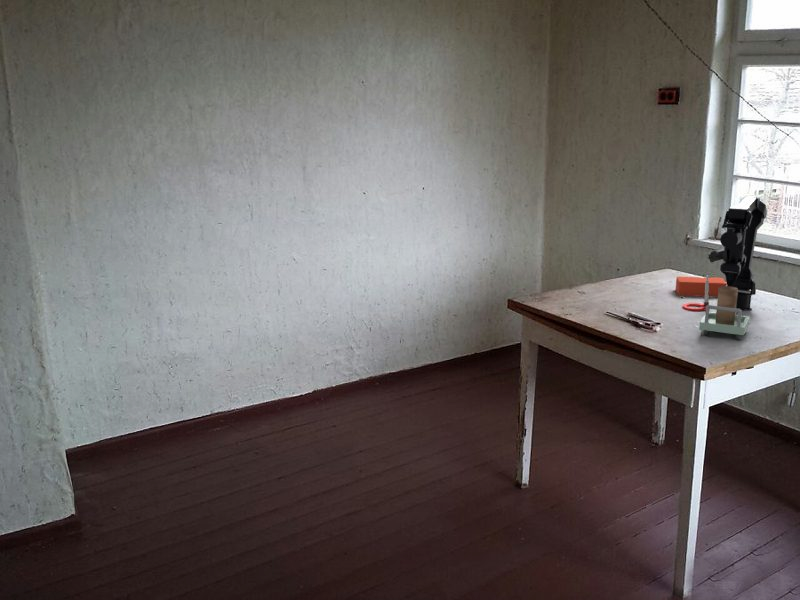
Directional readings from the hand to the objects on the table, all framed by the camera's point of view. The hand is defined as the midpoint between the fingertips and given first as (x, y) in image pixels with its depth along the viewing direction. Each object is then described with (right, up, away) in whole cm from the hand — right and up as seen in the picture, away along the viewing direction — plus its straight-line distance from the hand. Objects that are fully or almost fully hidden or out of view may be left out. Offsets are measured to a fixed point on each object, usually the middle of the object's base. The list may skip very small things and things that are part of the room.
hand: (731, 286), depth 270 cm
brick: (+5, -3, +39) cm, 40 cm away
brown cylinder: (-7, -13, -10) cm, 18 cm away
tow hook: (-5, -8, +20) cm, 22 cm away
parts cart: (-7, -16, -9) cm, 20 cm away
